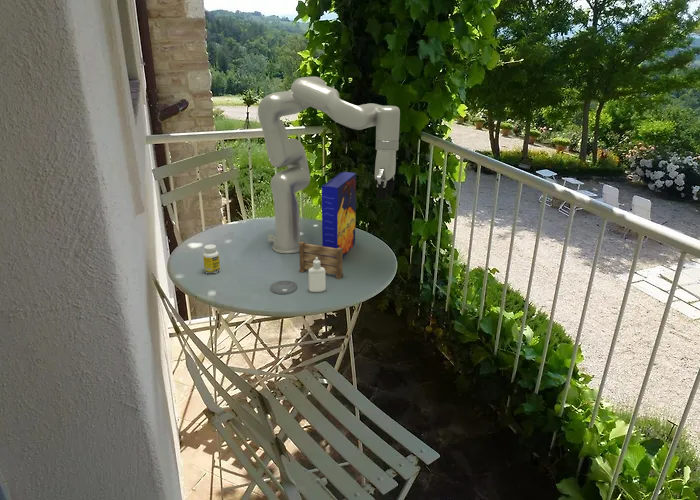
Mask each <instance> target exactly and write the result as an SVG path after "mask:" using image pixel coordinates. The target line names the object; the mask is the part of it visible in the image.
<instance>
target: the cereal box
mask: <svg viewBox="0 0 700 500" xmlns="http://www.w3.org/2000/svg"><path fill="white" fill-rule="evenodd" d="M356 192H357V173H356V172H349V171H343V172H340V173H338V174H337V175H336V176H333V178H331V179H330V180H328V181H327V182H325V183H324V184H323V185H322V186H321V227H322V229H321V233H322V235H321V236H322V237H321V238H322V239H321V240H322V241H321V242H322V245H321V246H324V247H331V248H338V247H339V248H343V259H344V258H345V257H346V256H347V254H349V253H350V251H351V250H352V249H353V247H354V246H355V245H356V210H357V209H356V208H357V205H356V203H357V201H356V200H357V198H356V197H357V193H356ZM325 256H327V255H325ZM331 257H333V256H331Z"/></svg>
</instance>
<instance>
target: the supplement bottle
mask: <svg viewBox="0 0 700 500" xmlns="http://www.w3.org/2000/svg"><path fill="white" fill-rule="evenodd" d="M202 257H203V267H204V273H205V272H207V273H216V272H218V271H219V272H220V271H221V264H220V253H219V251H217V245H215V244H206V245H204V252H203V254H202ZM219 272H218V273H219ZM207 273H206V274H207ZM216 274H217V273H216Z"/></svg>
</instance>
